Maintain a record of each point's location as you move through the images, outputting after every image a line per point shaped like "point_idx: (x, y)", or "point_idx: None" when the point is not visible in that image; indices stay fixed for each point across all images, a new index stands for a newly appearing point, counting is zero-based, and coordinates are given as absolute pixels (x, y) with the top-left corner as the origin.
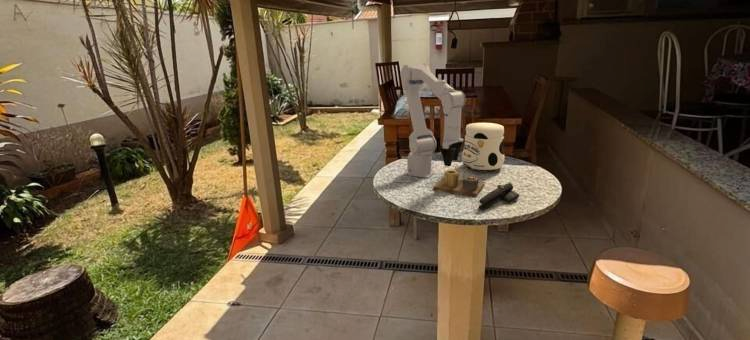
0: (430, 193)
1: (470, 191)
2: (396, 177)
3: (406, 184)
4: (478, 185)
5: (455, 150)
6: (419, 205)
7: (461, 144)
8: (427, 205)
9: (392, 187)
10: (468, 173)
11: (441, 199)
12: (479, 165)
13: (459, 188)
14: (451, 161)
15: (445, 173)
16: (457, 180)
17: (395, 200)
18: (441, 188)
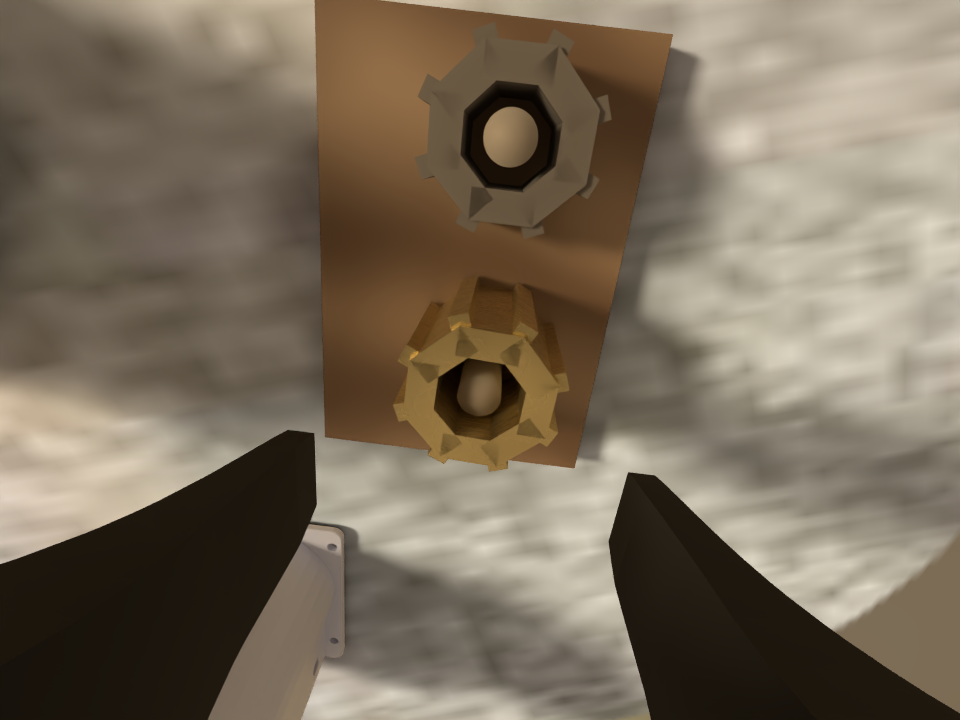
0: (651, 455)
1: (621, 121)
2: (407, 685)
3: (513, 618)
4: (409, 58)
5: (210, 594)
6: (907, 479)
7: (18, 659)
8: (907, 430)
9: (591, 671)
10: (40, 244)
11: (770, 357)
12: None
13: (560, 251)
14: (687, 519)
15: (505, 453)
16: (482, 300)
17: (818, 619)
18: (587, 402)
